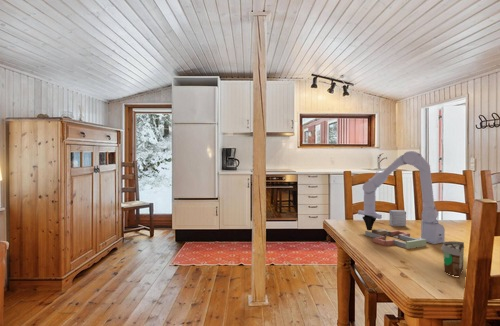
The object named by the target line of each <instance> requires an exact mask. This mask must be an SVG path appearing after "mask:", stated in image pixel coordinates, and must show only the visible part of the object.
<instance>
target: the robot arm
mask: <svg viewBox="0 0 500 326" xmlns="http://www.w3.org/2000/svg"><path fill="white" fill-rule="evenodd" d="M405 165H410V166H412V167H414V168H415V169H417V170H419V171H418V172H419V180H420V188H421V197H422V199H421V200H422V211H421V215H420V216H421V220H420V221H421V222H420V223H421V224H420V225H421V226H420V227H421V228H420V230H421V231H420V237H417V238H416V239H426V243H429V244H431V245H432V244H433V245H436V244H437V245H438V244H443V243H444V242H447V241H445V234H446V233H445V226H444V225H442V224H440V223H439V220H438V219H437V218H438V216H439V211H438V209H437V208H436V204H435V199H434V189H433V182H432V171H431V165H430V163H429V162H428V161H427V160H426V158H424V156H422V154H421V153H419V152H417V151H414V150H413V151H412V150H409V151H405V152H404V153H403V154H402V155H400V156H398V157H397V158H396V159H395V160H394V161H393V162H392V163H390V165H388V166H387V167H386V168H385V169H384V170H383V171H376V172H375V173H374V175H373V176H372V177H371V178H368V179H367V181H365V182H364V183H363V184H362V190H363V210H361V209H359V210H358V211H357V215H362V219H363V222H364V223H365V227H366V231H372V230H373V226H374V223H375V221H376V220H377V219H378V220H381V219H382V218H383V217H382V214H380V213H378V212H376V191H377V189H379V187H380V186H382V185H383V184H384V183H386V182H387V180H388V176H390V175H391V174H392V173H393V172H394V171H396V170H397V169H398V168H400V167H401V166H405Z"/></svg>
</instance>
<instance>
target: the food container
mask: <svg viewBox="0 0 500 326" xmlns="http://www.w3.org/2000/svg"><path fill="white" fill-rule="evenodd" d="M464 249H465V241H464V242H463V241H455V240H453V241H446V242H444V243H442V245H441V248H440V250H441V251H442V253H443V265H444V267H443V268H444V273H445V272H446V273H448V274H450V275H454V276H459V277H460V278H461V276H460V274H461V272H462V270H463V271H464V256H465V253H464ZM446 273H445V274H446ZM462 273H463V272H462ZM448 274H447V275H448ZM450 275H449V276H450ZM461 275H462V274H461Z"/></svg>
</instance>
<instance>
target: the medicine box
mask: <svg viewBox="0 0 500 326" xmlns="http://www.w3.org/2000/svg"><path fill="white" fill-rule="evenodd" d="M388 225H389V226H391V227H407V212H406V211H405V210H403V209H401V210H400V209H399V210H398V209H393V210H392V209H390V210H389V224H388Z"/></svg>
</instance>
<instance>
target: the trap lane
mask: <svg viewBox="0 0 500 326" xmlns="http://www.w3.org/2000/svg"><path fill="white" fill-rule="evenodd" d="M380 229H381V230H385V231H386V236H382V235H378V234H375V233H372V231H369V230H365V231H364V235H365V236H366V237H369V238H372V242H373V243H375V244H378V245H380V246H386V247H388V246H392V245H393V246H394V245H395V246H398V247H400V248H404V249H406V250H407V249H408V250H410V248H411V249H415V248H416V247H417V248H422V247H427V242H426V239H417V238H415V237H411V233H409V232H405V231H401V230H398V229H397V230H391V231H390V230H387V229H383V228H380ZM387 236H389V237H392V238H396V239H388V240H387ZM398 239H399V240H398ZM401 240H402V241H401Z"/></svg>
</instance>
